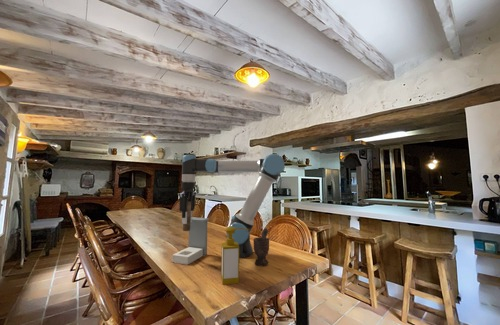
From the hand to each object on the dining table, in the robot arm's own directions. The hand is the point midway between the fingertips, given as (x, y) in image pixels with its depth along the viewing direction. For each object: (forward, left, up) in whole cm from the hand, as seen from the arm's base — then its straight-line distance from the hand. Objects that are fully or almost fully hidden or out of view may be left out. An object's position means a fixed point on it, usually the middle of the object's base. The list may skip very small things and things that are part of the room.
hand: (186, 222), depth 122 cm
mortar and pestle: (-43, -9, -21) cm, 48 cm away
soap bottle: (-36, +12, -21) cm, 43 cm away
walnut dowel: (0, 0, -4) cm, 4 cm away
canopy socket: (0, -4, -21) cm, 21 cm away
